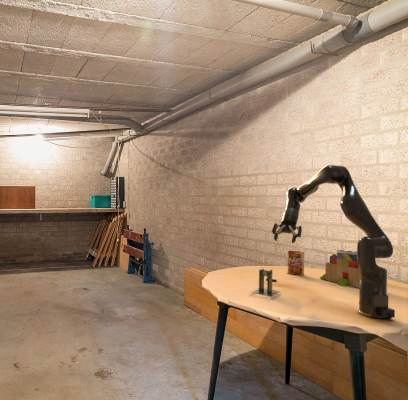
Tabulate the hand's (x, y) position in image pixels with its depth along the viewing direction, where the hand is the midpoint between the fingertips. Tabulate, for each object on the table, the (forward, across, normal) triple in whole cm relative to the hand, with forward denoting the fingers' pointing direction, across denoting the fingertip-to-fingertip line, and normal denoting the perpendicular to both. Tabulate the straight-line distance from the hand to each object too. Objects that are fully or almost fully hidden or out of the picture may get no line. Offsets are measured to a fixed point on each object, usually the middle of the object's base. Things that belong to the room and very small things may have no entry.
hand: (284, 241), depth 187 cm
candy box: (-8, -2, +52) cm, 53 cm away
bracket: (+33, -2, +1) cm, 33 cm away
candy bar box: (-20, +24, +66) cm, 73 cm away
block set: (-4, +26, +45) cm, 52 cm away
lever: (+25, -2, -1) cm, 25 cm away
